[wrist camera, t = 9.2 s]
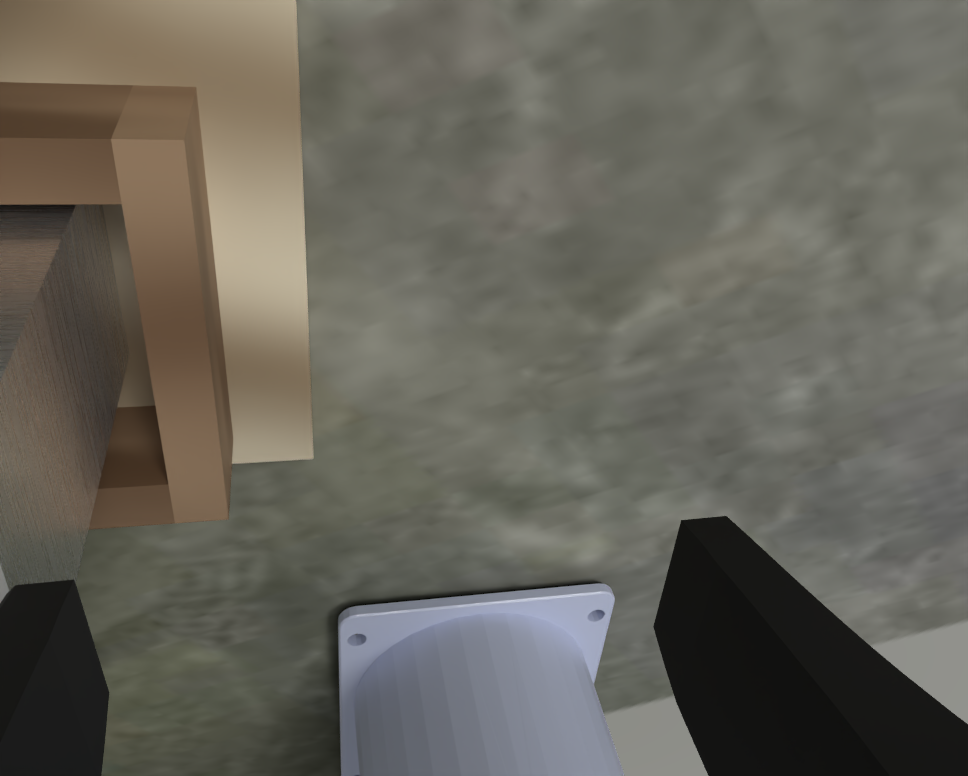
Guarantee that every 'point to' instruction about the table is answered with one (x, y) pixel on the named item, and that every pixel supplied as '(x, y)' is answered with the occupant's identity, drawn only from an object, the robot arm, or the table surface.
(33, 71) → the socket board
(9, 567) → the square peg
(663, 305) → the table surface
